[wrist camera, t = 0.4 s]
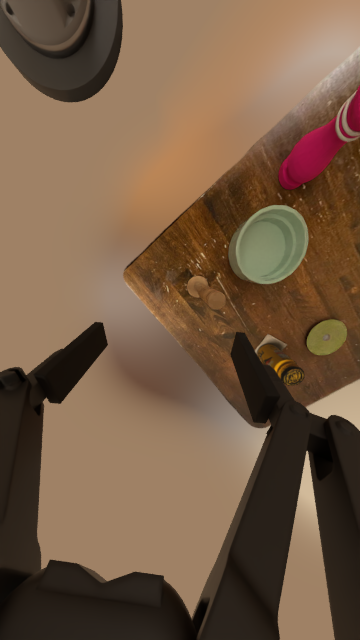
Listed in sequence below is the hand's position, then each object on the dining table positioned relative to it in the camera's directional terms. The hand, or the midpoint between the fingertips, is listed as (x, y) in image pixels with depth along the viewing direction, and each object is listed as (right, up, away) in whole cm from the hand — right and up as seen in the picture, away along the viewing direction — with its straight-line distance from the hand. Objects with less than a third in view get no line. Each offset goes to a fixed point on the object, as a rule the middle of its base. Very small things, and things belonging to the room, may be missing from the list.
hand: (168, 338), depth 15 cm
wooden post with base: (+6, +11, +26) cm, 28 cm away
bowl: (+21, +19, +23) cm, 37 cm away
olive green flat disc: (+44, -3, +30) cm, 53 cm away
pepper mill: (+26, +35, +19) cm, 47 cm away
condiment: (+29, -7, +32) cm, 43 cm away
